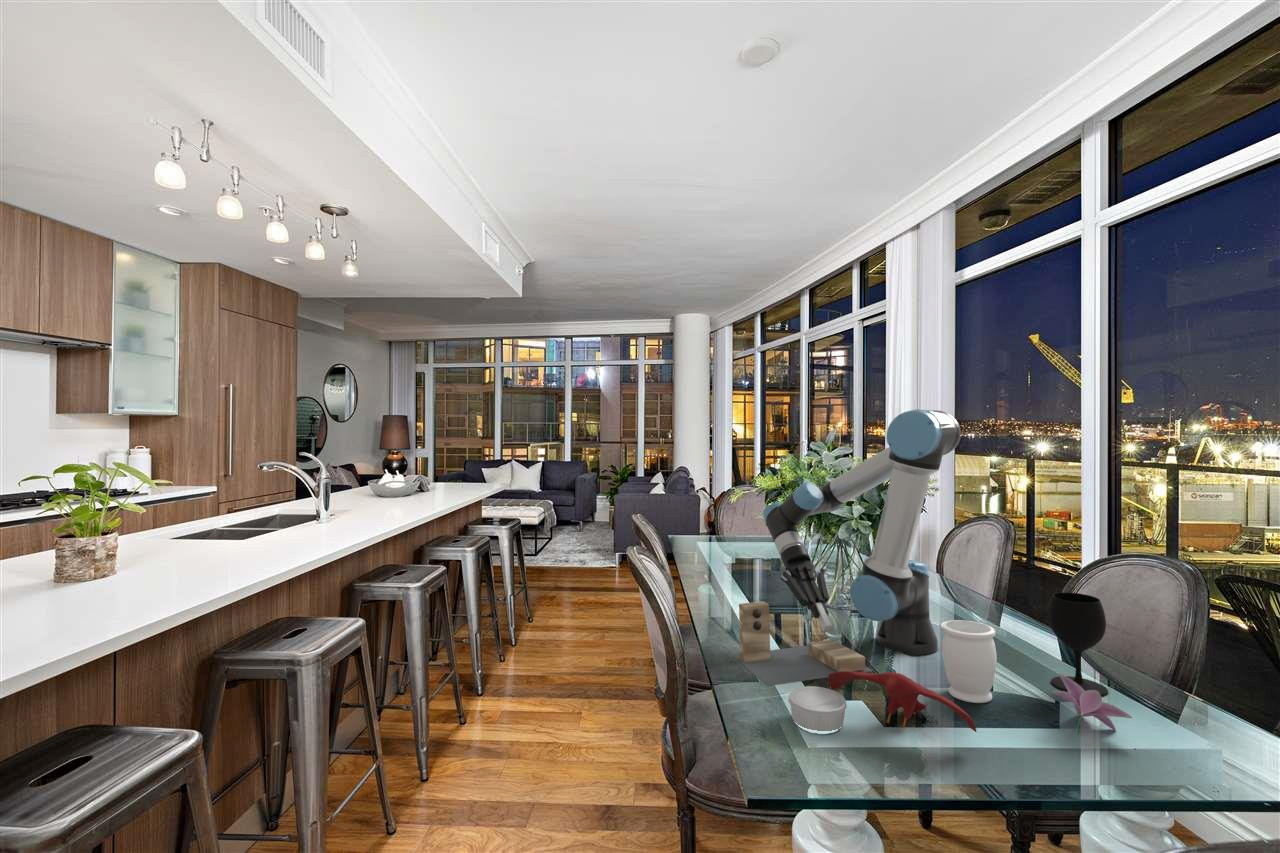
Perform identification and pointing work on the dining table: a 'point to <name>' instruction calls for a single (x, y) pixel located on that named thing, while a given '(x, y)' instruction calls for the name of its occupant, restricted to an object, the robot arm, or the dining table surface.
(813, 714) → the ramekin
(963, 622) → the jar
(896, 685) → the red dinosaur figurine
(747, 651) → the tile two
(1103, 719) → the lily
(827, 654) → the tile one
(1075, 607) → the wine glass
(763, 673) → the mat
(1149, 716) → the dining table surface
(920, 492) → the robot arm
